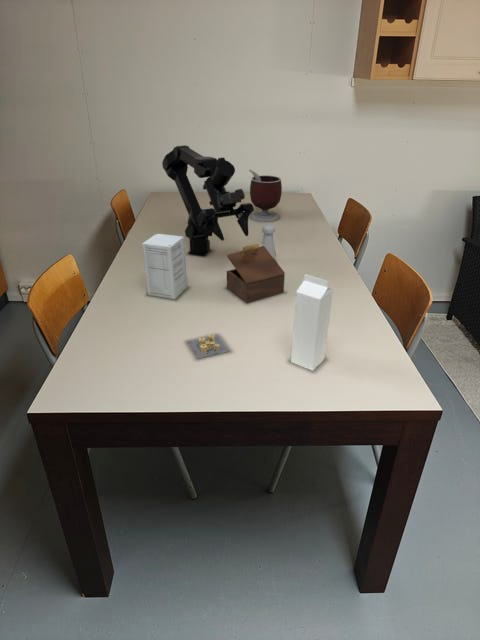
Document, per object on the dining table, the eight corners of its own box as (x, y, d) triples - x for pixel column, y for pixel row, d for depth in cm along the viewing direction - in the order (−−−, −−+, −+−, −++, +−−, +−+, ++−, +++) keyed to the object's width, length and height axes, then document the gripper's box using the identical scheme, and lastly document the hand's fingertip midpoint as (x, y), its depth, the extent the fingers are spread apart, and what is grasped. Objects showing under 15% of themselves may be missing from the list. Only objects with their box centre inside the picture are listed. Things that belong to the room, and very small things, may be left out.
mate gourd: (285, 216, 209) (288, 170, 199) (270, 224, 199) (272, 177, 189) (256, 210, 216) (257, 166, 206) (240, 217, 206) (241, 172, 196)
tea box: (226, 288, 144) (226, 270, 141) (262, 279, 150) (262, 262, 147) (246, 303, 135) (246, 285, 132) (283, 292, 142) (284, 274, 139)
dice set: (201, 354, 112) (201, 348, 111) (195, 344, 116) (194, 337, 115) (221, 350, 114) (221, 343, 113) (213, 340, 118) (213, 333, 117)
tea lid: (226, 256, 138) (229, 245, 135) (263, 247, 145) (266, 237, 142) (246, 284, 133) (250, 274, 129) (284, 274, 139) (288, 264, 136)
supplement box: (188, 287, 144) (185, 236, 136) (175, 300, 137) (171, 247, 128) (161, 282, 147) (156, 232, 139) (146, 295, 139) (141, 242, 131)
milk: (303, 351, 114) (310, 269, 103) (324, 359, 111) (335, 276, 100) (290, 362, 110) (297, 278, 99) (312, 371, 107) (322, 285, 96)
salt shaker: (274, 265, 160) (276, 229, 154) (258, 263, 161) (259, 228, 155) (276, 258, 165) (278, 223, 159) (260, 257, 166) (261, 222, 160)
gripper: (201, 183, 135) (220, 230, 133) (253, 177, 145) (271, 221, 143) (188, 202, 145) (206, 247, 143) (237, 196, 154) (254, 237, 152)
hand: (235, 237), depth 145 cm, fingers open, 9 cm apart
